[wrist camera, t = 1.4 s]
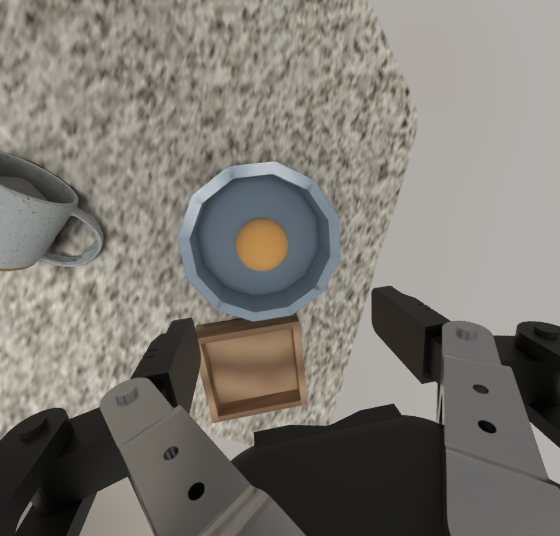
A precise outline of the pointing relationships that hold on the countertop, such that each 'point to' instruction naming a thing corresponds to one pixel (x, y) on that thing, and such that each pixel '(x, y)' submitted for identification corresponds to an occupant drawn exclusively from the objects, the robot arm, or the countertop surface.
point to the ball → (261, 244)
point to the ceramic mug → (36, 216)
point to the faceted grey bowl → (242, 209)
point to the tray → (251, 366)
